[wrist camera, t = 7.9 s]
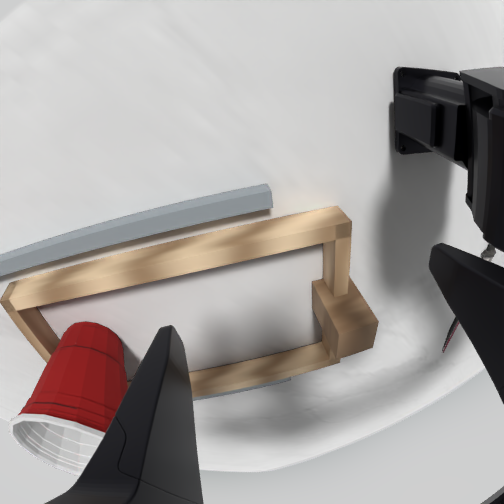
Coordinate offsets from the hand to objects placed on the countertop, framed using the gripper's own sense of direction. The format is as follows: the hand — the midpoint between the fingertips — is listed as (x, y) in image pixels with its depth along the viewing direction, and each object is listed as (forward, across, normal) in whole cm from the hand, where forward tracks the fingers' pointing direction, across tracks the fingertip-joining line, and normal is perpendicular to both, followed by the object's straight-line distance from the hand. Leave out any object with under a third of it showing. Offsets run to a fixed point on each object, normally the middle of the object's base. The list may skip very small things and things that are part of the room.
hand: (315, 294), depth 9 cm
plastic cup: (+12, +17, +11) cm, 24 cm away
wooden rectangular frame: (+12, +8, +12) cm, 19 cm away
